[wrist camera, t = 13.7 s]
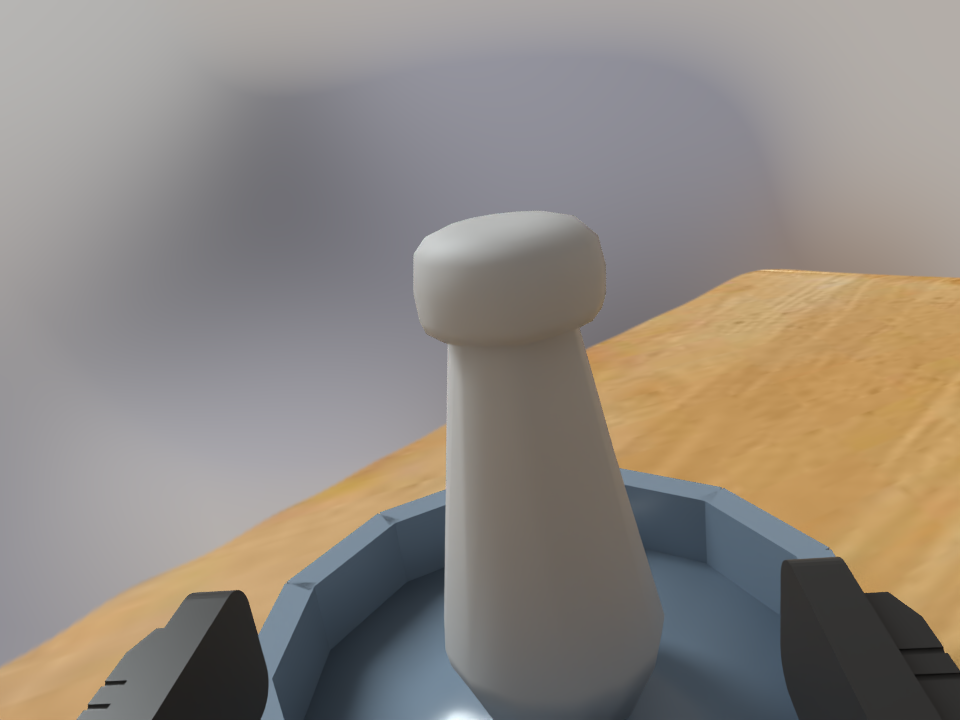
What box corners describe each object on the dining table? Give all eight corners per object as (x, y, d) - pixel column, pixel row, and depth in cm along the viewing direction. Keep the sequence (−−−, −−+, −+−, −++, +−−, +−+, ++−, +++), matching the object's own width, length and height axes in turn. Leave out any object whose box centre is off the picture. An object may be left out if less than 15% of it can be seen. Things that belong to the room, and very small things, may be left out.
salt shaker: (661, 618, 23) (634, 186, 18) (679, 783, 18) (646, 231, 13) (473, 620, 24) (405, 211, 20) (436, 775, 19) (332, 262, 14)
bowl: (772, 529, 28) (771, 452, 27) (1039, 1058, 13) (1063, 929, 12) (351, 558, 30) (335, 486, 29) (152, 1044, 15) (103, 932, 14)
